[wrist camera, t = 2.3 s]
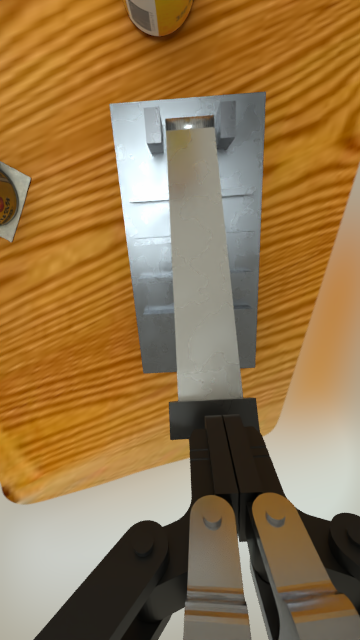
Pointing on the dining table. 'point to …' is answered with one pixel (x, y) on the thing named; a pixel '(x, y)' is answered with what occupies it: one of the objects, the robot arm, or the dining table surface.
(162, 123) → the clamp base
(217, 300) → the bar
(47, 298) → the dining table surface
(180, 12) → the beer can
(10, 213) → the condiment
